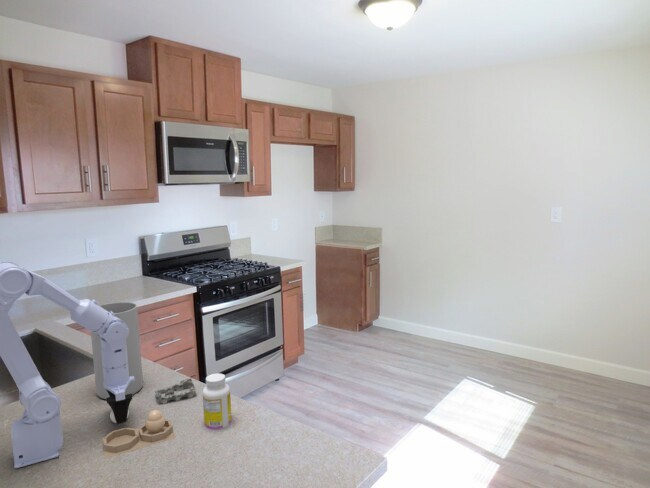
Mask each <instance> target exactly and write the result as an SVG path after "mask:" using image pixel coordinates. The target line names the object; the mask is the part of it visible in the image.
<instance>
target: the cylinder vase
mask: <svg viewBox="0 0 650 488" xmlns="http://www.w3.org/2000/svg"><path fill="white" fill-rule="evenodd" d="M99 306H100V307H102V308H103V309H105V310H106V311H108V312H110V311H112V312H113V313H115V317H117V318H119V319H121V320H122V321H124V322H125V323H126V324H127V327H128V328H129V334H128V336H127V338H126V345H127V356H128V369H129V377H130V376H134V378H135V381H133V382H130V383H129V385H128V387H127V389H126V391H125V395H127V394H131V393H132V395H135V394H137V393H138V392H140V390H142V388H143V385H144V380H143V379H144V377H143V366H142V365H143V364H142V354H141V353H142V352H141V339H140V337H141V336H140V324H139V312H138V304H137V303H135V302H130V301H129V302H126V301H124V302H123V301H119V302H109V303H105V304H100V305H99ZM90 337H91V338H90V339H91V349H92V359H93V370H94V382H95V391H96V395H97V397H99V398H100V399H103V400H107V398H108V397H110V396H109V394H108V392H107V390H106V389H105V388H104V385H103V383H104V375H103V365H102V354H101V338H102V337H101V336H98V335H97V334H96V333H93V332H92V331H90Z"/></svg>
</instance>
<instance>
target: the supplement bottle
mask: <svg viewBox="0 0 650 488" xmlns="http://www.w3.org/2000/svg"><path fill="white" fill-rule="evenodd" d="M205 384H206V386H204V388H203V390H202V405H203V420H204V421H203V423H204V426H205V428H207V429H209V430H220V429H224V428H226V427H228V426H230V425H231V423H232V420H233V419H232V401H231V388H230V386H229V384H227V383H226V375H225V374H223V373H211V374H209V375H207V376H206V377H205Z"/></svg>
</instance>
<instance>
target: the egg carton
mask: <svg viewBox="0 0 650 488" xmlns="http://www.w3.org/2000/svg"><path fill="white" fill-rule="evenodd" d="M184 389H189V391H188V392H183V393H182V391H184ZM175 392H180V393H179V394H175ZM154 394H155V398H156V399H157V404H163V405H165V404H167V403H168V402H170V401H176V402H179V401H180V400H181V399H182V398H188V399H190V398H193V396H195V395H196V394H197V388H196V387H195V385H194V381H193V380H192V378H191V377H190V378H186V379H183V380H181V381H180V382H179V383H175V384H174V385H168V386H166V387H164V388H161V389H155V390H154ZM163 394H164V396H162V395H163Z"/></svg>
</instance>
